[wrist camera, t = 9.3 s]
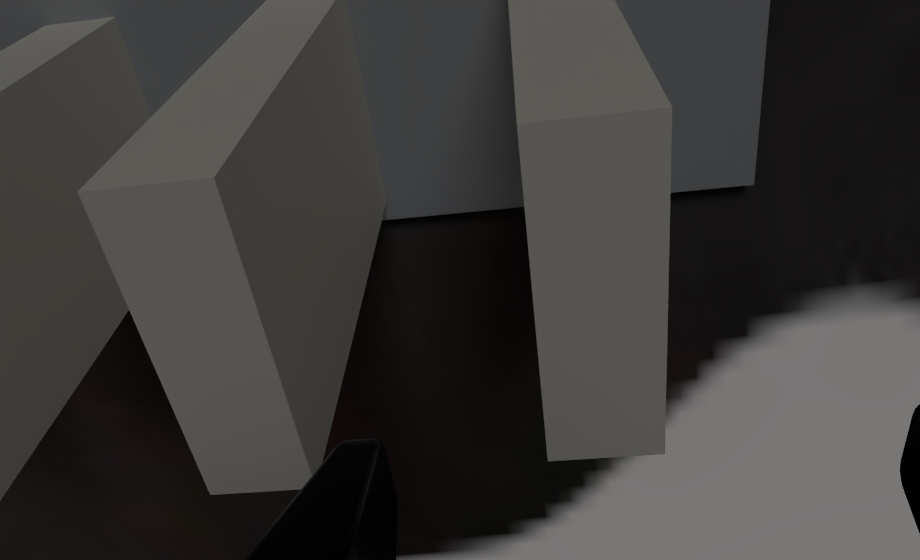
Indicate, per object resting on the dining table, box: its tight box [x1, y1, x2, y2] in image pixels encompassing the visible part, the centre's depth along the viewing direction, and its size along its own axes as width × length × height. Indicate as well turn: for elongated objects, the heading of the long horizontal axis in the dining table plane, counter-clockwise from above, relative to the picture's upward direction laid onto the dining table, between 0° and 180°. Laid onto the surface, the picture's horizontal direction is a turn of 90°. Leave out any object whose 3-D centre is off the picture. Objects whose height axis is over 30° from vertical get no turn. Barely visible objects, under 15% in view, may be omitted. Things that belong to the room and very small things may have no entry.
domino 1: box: [0, 17, 151, 500], centre depth 14 cm, size 2×5×9 cm, turn 7°
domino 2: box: [78, 0, 386, 495], centre depth 14 cm, size 2×5×9 cm, turn 7°
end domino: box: [508, 0, 672, 461], centre depth 13 cm, size 2×5×9 cm, turn 7°
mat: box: [0, 0, 770, 220], centre depth 17 cm, size 9×29×1 cm, turn 97°
